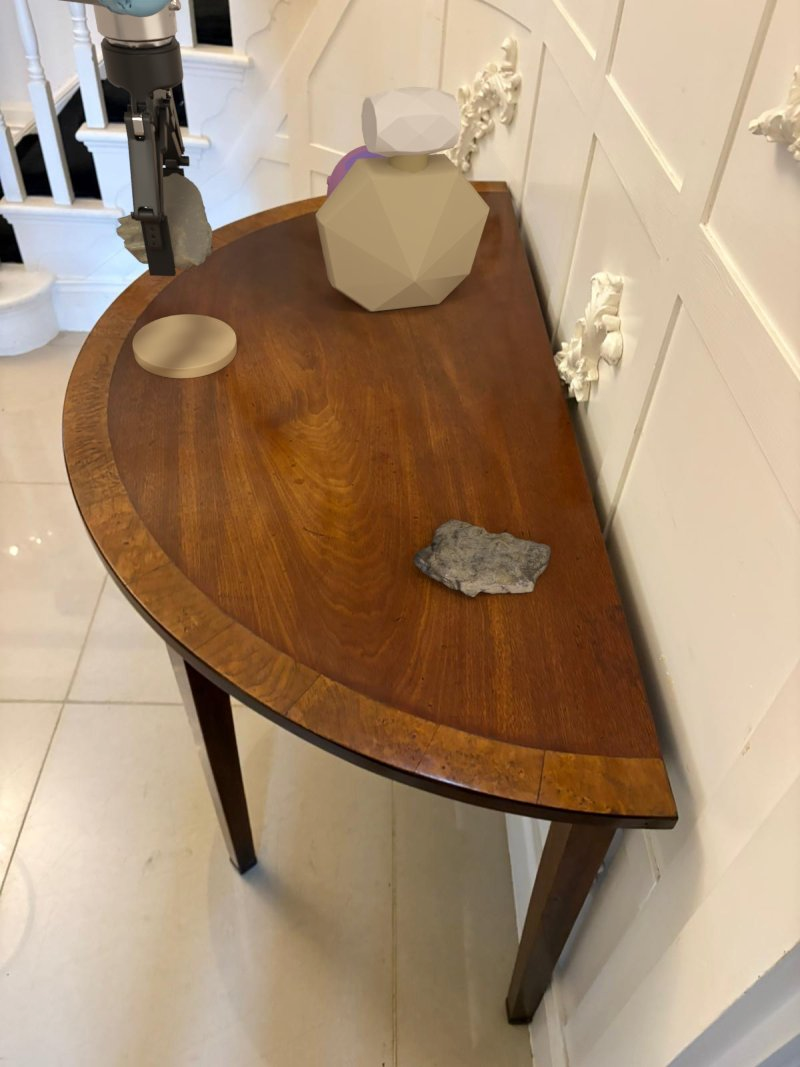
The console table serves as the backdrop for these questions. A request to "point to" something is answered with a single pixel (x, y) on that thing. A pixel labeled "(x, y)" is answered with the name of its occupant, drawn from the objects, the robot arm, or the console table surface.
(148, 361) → the maple disc
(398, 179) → the perfume bottle
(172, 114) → the robot arm
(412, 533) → the console table surface
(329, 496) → the console table surface
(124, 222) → the fossil
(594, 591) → the console table surface
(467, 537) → the stone
